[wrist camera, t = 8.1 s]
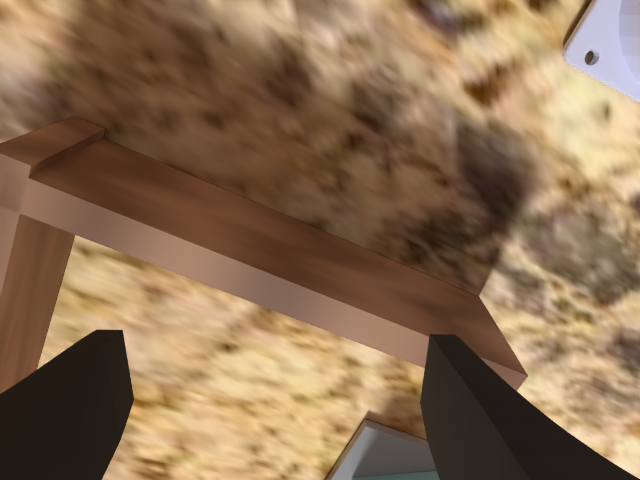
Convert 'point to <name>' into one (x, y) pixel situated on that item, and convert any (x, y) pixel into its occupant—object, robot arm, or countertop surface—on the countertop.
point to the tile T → (382, 454)
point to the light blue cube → (404, 476)
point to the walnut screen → (205, 253)
